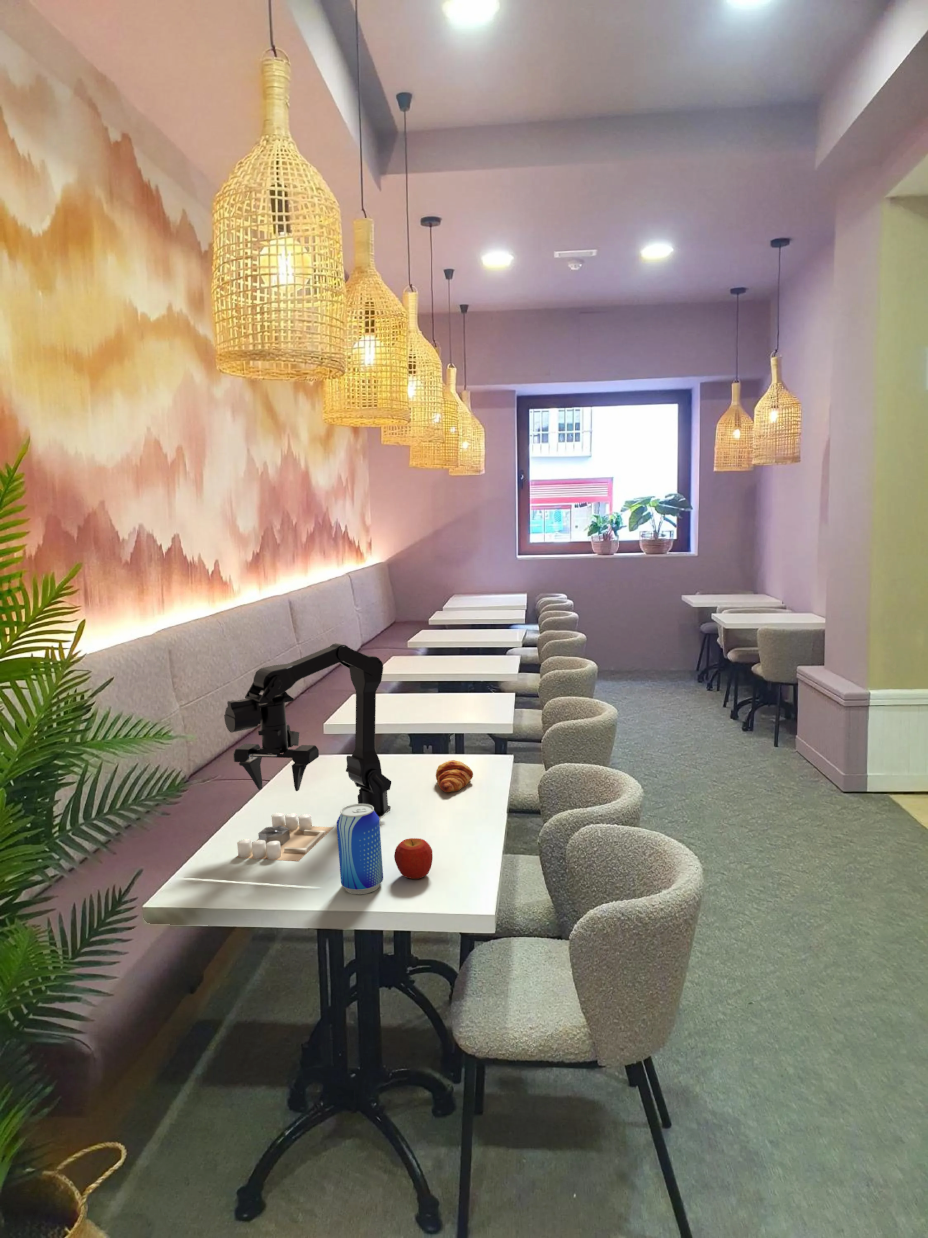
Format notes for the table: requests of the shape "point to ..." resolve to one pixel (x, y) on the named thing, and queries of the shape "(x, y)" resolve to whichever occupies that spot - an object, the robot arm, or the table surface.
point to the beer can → (359, 849)
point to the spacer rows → (273, 847)
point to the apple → (413, 858)
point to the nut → (275, 834)
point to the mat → (299, 843)
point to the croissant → (453, 775)
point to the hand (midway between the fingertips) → (278, 790)
